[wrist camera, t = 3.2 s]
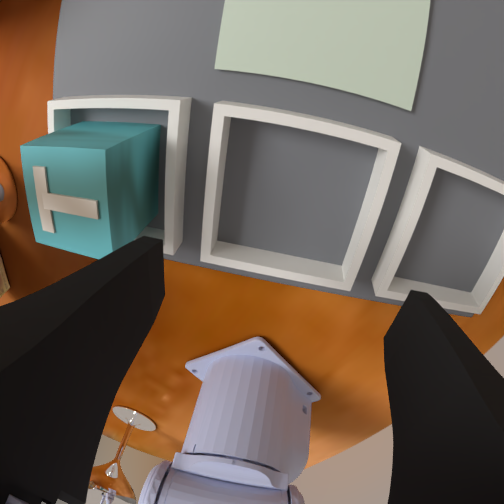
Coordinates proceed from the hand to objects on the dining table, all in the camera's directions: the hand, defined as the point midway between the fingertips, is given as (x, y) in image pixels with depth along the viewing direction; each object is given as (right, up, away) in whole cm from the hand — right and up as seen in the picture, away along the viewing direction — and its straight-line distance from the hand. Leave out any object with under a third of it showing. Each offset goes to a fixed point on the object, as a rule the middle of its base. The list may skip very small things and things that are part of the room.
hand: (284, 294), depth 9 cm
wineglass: (-17, -21, +26) cm, 38 cm away
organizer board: (+2, +8, +4) cm, 10 cm away
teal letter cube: (-8, +6, +7) cm, 12 cm away
